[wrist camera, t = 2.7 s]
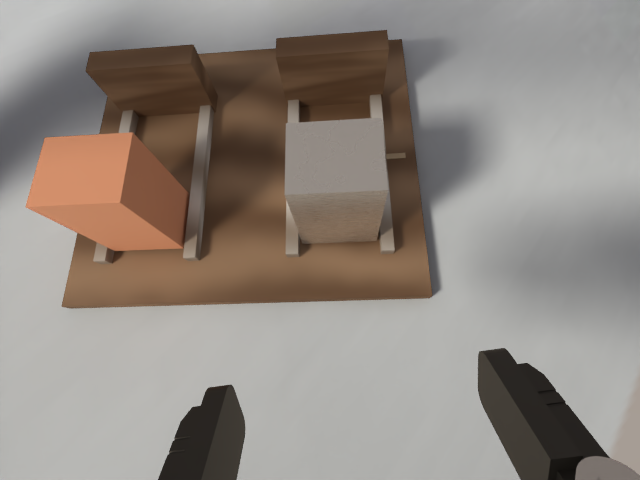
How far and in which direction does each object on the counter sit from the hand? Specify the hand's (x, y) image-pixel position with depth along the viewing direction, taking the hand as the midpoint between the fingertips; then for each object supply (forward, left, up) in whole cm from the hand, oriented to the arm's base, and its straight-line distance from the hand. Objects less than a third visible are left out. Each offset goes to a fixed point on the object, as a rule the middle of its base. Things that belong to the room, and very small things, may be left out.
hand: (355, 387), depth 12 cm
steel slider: (+9, +9, -15) cm, 20 cm away
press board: (+9, +18, -17) cm, 26 cm away
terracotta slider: (-1, +21, -15) cm, 26 cm away
